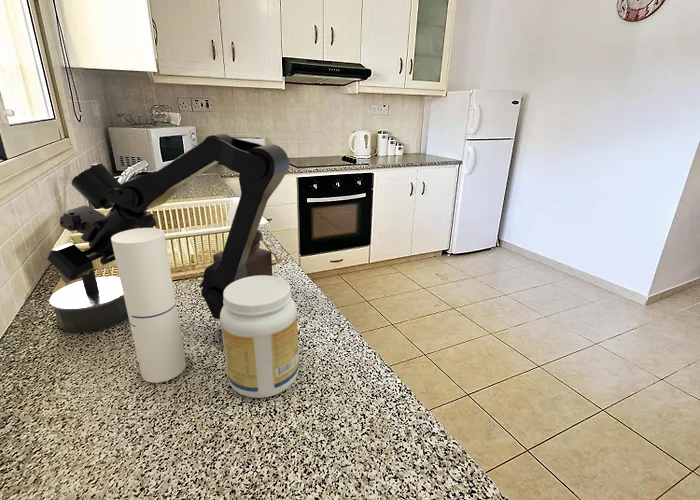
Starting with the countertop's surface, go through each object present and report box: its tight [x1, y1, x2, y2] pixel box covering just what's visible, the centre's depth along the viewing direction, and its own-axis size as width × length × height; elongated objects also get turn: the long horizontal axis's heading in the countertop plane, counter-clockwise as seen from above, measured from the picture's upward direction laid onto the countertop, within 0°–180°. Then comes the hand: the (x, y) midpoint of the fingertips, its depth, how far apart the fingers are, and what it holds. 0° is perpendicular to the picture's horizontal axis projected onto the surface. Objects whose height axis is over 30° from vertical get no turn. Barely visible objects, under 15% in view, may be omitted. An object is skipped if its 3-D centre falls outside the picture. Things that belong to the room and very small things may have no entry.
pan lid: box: [49, 268, 124, 311], centre depth 78 cm, size 15×15×9 cm
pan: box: [53, 296, 129, 334], centre depth 81 cm, size 14×14×5 cm
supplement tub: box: [219, 275, 300, 399], centre depth 62 cm, size 12×12×17 cm
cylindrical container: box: [111, 227, 187, 384], centre depth 61 cm, size 7×7×25 cm
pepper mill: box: [212, 229, 273, 277], centre depth 91 cm, size 16×11×18 cm
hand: (84, 271), depth 78 cm, fingers open, 9 cm apart
